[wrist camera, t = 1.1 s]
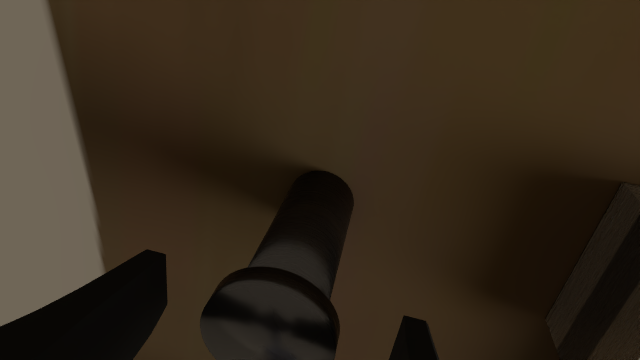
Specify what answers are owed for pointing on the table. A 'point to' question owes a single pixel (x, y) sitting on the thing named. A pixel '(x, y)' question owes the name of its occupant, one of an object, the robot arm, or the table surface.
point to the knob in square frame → (603, 289)
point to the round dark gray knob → (286, 281)
